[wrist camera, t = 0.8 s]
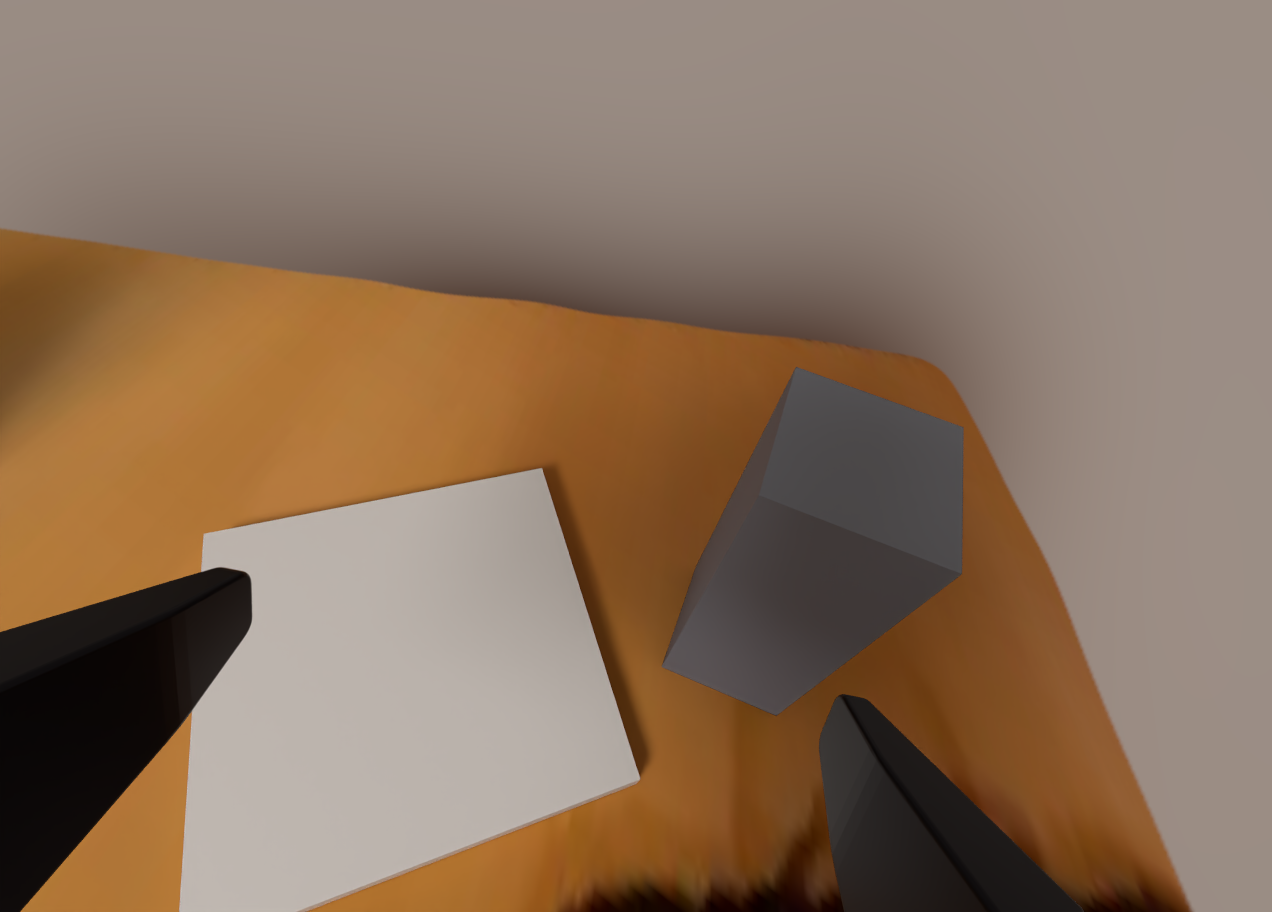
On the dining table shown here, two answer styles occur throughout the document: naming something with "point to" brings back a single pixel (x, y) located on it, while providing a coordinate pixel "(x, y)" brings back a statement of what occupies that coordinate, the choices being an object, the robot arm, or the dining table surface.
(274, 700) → the white plate
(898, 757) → the robot arm
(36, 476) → the dining table surface
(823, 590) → the tall block
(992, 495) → the dining table surface
